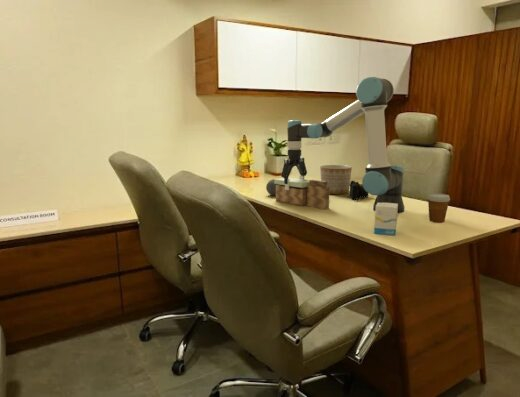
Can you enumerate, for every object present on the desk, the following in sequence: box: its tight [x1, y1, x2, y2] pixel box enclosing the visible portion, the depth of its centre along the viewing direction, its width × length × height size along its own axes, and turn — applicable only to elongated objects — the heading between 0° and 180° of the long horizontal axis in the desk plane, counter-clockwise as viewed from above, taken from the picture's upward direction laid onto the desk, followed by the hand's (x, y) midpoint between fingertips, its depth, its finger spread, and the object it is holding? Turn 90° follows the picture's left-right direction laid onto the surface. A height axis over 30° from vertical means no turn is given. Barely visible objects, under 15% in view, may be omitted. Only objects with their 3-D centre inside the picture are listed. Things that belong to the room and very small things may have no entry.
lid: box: [274, 176, 311, 188], centre depth 219 cm, size 21×11×2 cm, turn 42°
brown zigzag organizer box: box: [275, 185, 330, 210], centre depth 216 cm, size 34×9×12 cm, turn 42°
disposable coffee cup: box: [426, 193, 451, 224], centre depth 179 cm, size 10×10×12 cm
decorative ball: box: [265, 179, 281, 197], centre depth 241 cm, size 10×10×10 cm
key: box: [309, 179, 327, 187], centre depth 207 cm, size 10×2×2 cm, turn 42°
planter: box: [319, 164, 353, 196], centre depth 248 cm, size 19×19×16 cm
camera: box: [349, 180, 369, 201], centre depth 231 cm, size 14×11×10 cm
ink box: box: [373, 202, 398, 236], centre depth 163 cm, size 9×8×12 cm
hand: (294, 188), depth 220 cm, fingers closed on lid, 11 cm apart
